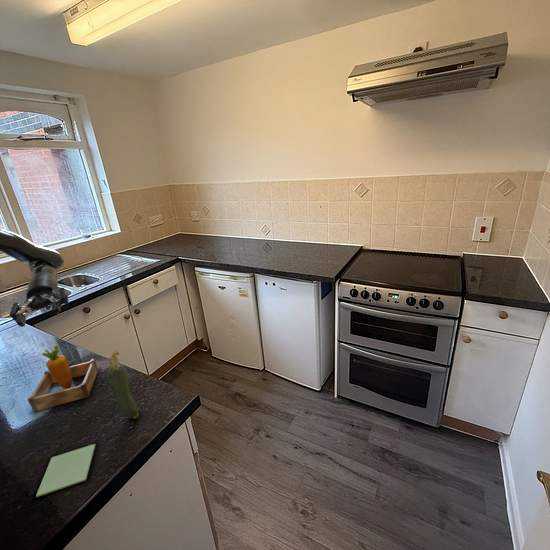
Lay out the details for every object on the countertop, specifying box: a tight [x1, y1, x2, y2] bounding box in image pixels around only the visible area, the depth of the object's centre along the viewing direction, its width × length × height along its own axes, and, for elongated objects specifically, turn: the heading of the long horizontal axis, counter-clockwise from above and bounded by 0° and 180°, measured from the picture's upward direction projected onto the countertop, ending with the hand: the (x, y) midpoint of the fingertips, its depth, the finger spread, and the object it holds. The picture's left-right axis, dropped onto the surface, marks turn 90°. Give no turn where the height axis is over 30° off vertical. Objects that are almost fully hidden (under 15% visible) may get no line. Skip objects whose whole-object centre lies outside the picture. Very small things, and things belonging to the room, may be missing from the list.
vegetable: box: [106, 350, 139, 420], centre depth 74 cm, size 4×4×20 cm
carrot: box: [41, 344, 73, 389], centre depth 87 cm, size 5×5×15 cm
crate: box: [27, 358, 99, 413], centre depth 89 cm, size 14×13×4 cm
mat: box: [35, 443, 96, 498], centre depth 65 cm, size 9×9×1 cm
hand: (38, 318), depth 85 cm, fingers open, 8 cm apart
